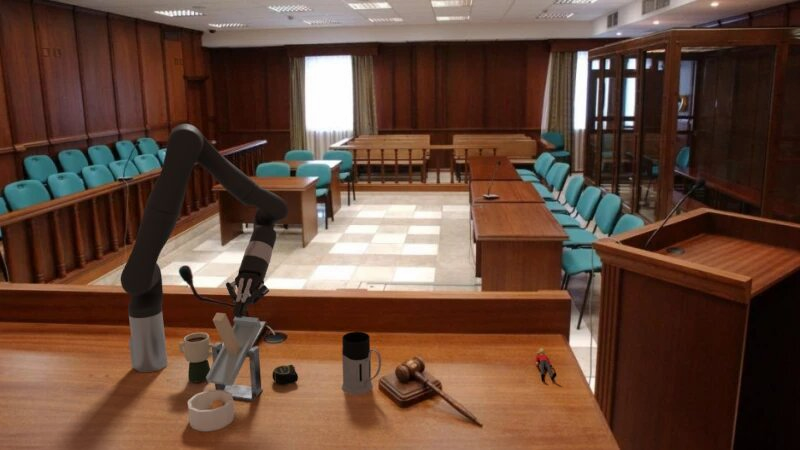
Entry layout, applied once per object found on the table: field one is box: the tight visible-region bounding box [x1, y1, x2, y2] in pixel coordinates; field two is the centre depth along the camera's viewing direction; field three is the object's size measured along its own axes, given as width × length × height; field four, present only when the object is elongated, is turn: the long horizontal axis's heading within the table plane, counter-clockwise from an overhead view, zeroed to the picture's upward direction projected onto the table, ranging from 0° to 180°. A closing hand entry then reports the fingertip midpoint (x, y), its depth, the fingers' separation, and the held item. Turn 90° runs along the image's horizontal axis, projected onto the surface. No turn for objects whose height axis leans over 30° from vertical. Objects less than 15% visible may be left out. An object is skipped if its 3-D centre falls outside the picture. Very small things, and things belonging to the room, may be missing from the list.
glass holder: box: [341, 331, 382, 395], centre depth 175 cm, size 9×14×15 cm, turn 44°
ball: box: [211, 400, 223, 410], centre depth 164 cm, size 3×3×3 cm
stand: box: [211, 341, 264, 402], centre depth 173 cm, size 12×6×14 cm, turn 76°
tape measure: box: [271, 364, 299, 386], centre depth 182 cm, size 7×7×4 cm
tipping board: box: [206, 312, 262, 385], centre depth 168 cm, size 9×20×16 cm, turn 166°
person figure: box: [534, 348, 557, 382], centre depth 189 cm, size 5×4×18 cm
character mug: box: [178, 332, 215, 383], centre depth 182 cm, size 11×7×13 cm, turn 82°
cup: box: [187, 389, 235, 433], centre depth 161 cm, size 11×11×6 cm
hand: (237, 316), depth 172 cm, fingers closed
